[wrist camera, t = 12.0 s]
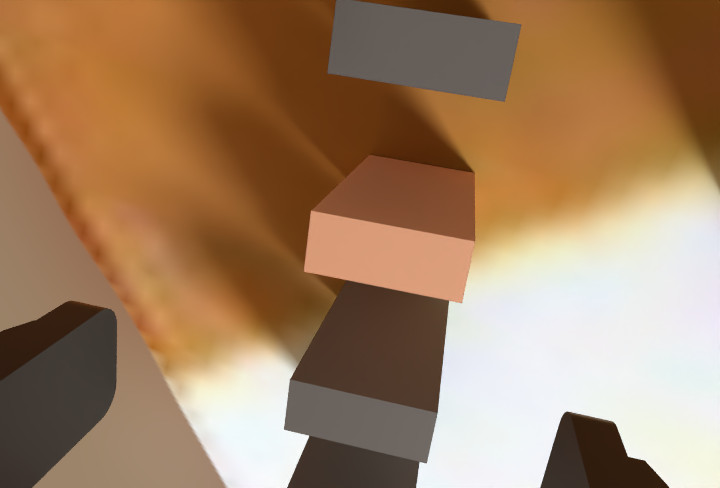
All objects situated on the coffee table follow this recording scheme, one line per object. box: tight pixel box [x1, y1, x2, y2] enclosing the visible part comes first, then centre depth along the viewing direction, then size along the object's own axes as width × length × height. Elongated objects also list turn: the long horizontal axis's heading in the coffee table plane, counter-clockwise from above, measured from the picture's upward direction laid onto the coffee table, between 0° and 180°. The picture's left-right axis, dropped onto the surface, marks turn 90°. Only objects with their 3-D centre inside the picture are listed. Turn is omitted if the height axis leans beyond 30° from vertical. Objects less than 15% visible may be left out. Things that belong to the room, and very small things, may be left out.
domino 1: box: [327, 0, 521, 102], centre depth 22 cm, size 2×5×11 cm, turn 82°
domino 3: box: [284, 280, 449, 463], centre depth 25 cm, size 2×5×11 cm, turn 82°
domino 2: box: [304, 155, 475, 303], centre depth 24 cm, size 2×5×11 cm, turn 82°
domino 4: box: [287, 436, 419, 488], centre depth 27 cm, size 2×5×11 cm, turn 82°
